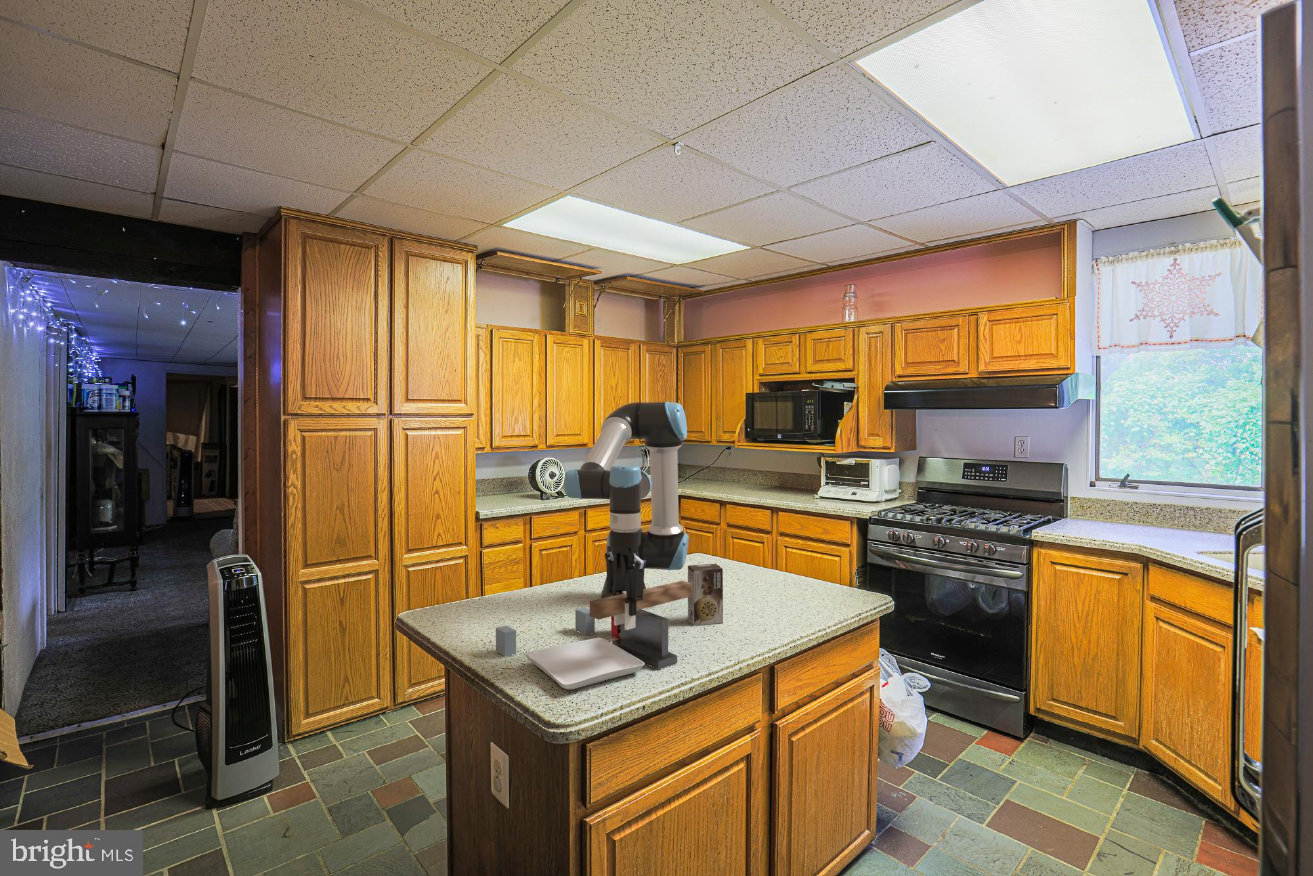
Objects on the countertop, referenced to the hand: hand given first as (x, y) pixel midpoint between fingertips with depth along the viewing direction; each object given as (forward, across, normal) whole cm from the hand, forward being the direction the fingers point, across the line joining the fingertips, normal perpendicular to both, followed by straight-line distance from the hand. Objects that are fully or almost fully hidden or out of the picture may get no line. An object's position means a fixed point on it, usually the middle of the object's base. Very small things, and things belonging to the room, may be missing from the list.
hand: (624, 626), depth 150 cm
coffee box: (+9, -9, +37) cm, 39 cm away
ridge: (+9, 0, +6) cm, 11 cm away
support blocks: (+9, -24, -7) cm, 27 cm away
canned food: (+9, -15, +12) cm, 21 cm away
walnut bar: (-4, 0, +6) cm, 7 cm away
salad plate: (+9, -2, -10) cm, 14 cm away
